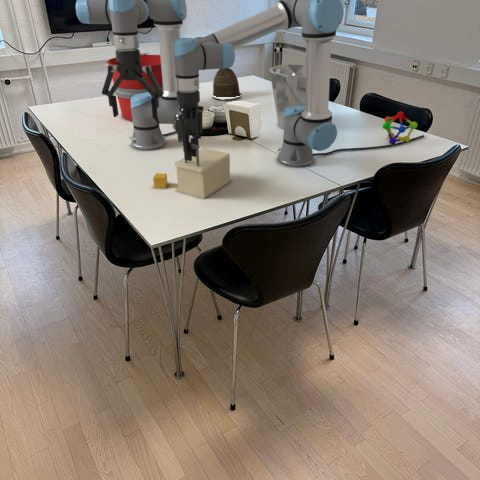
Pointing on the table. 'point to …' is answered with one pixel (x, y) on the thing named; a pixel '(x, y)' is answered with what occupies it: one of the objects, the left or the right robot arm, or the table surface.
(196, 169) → the lid
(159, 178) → the block
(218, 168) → the chest
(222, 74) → the bell
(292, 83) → the bucket
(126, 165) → the table surface
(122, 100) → the bucket
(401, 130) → the educational toy
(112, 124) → the table surface
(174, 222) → the table surface
